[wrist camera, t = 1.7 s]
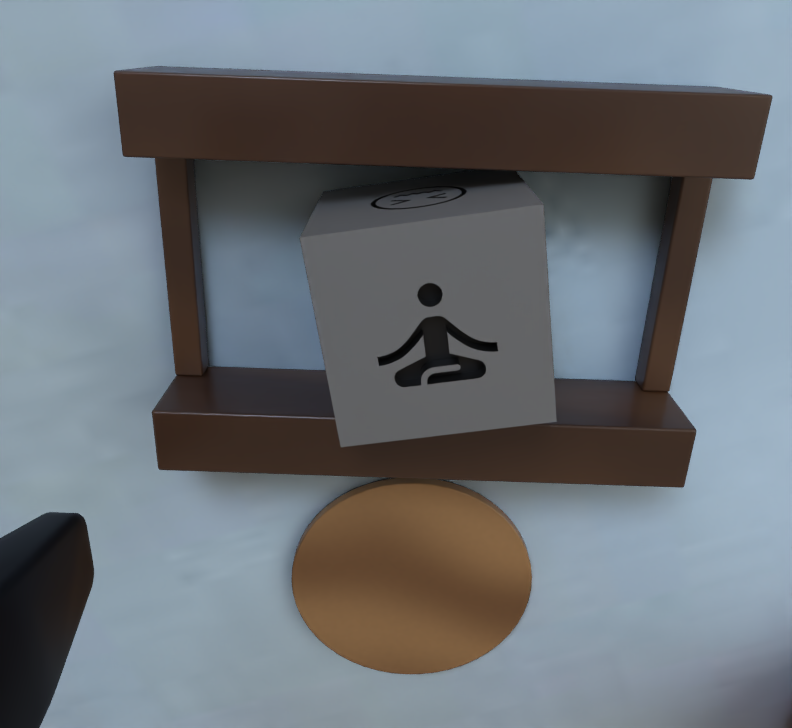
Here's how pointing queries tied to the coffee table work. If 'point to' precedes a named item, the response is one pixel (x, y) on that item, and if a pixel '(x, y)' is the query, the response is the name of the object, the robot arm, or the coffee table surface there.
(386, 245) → the dice cube
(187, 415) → the holder
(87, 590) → the robot arm
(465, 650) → the coaster
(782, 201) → the coffee table surface
